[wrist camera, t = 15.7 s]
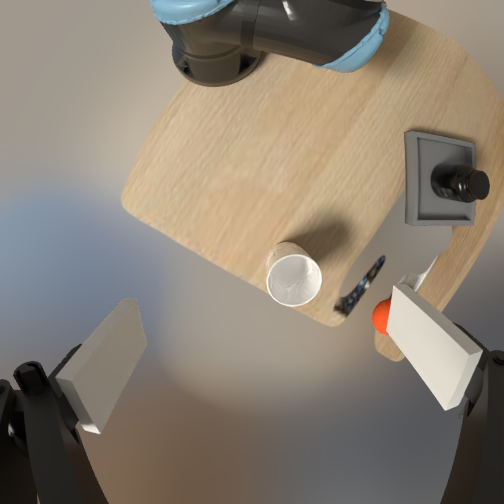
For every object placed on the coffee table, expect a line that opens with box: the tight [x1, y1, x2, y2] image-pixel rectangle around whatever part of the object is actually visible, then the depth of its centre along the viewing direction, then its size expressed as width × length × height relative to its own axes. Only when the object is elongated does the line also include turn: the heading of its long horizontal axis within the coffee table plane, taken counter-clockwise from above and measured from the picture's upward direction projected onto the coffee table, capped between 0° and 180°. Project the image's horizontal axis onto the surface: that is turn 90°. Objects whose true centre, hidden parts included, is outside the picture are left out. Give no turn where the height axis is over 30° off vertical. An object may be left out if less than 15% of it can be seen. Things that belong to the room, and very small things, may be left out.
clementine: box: [372, 299, 391, 335], centre depth 48 cm, size 8×7×7 cm
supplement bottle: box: [430, 164, 490, 203], centre depth 38 cm, size 7×7×12 cm
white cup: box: [266, 242, 322, 306], centre depth 44 cm, size 8×8×10 cm
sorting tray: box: [404, 131, 476, 226], centre depth 43 cm, size 17×17×3 cm
